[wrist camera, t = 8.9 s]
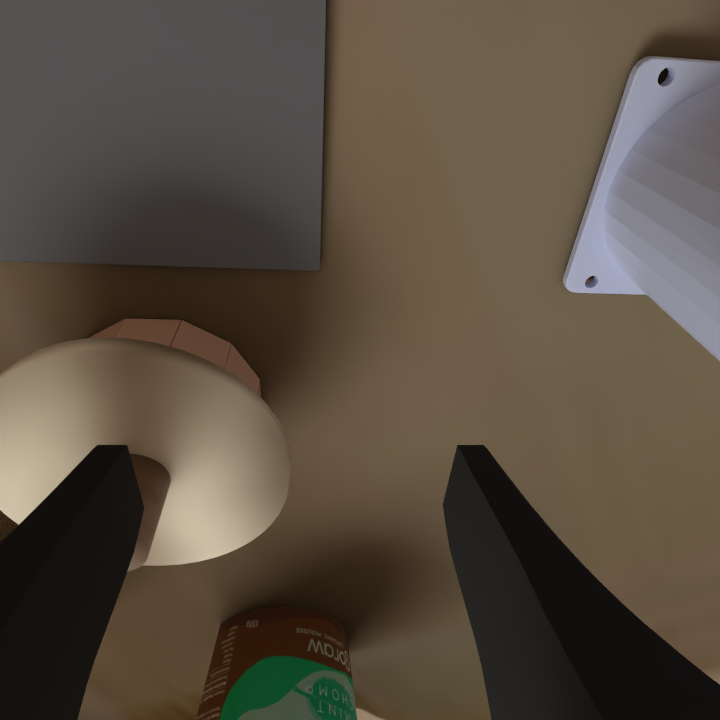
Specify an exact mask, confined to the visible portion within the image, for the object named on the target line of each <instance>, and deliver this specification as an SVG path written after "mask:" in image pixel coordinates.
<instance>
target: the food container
mask: <svg viewBox="0 0 720 720" xmlns="http://www.w3.org/2000/svg"><path fill="white" fill-rule="evenodd" d="M196 720H357V714H356V706H355V698H354V690H353V683H352V675H351V667H350V659H349V651H348V643H347V635H346V632H345V630H344V629H343V627H342V626H341V624H340V623H339V622H338V621H336V620H335V619H333V618H332V617H330V616H328V615H326V614H324V613H322V612H318V611H315V610H311V609H306V608H299V607H269V608H262V609H256V610H252V611H249V612H245V613H242V614H240V615H237V616H235V617H233V618H231V619H229V620H227V621H226V622H224V623H223V624H221V625H220V628H219V632H218V636H217V640H216V644H215V648H214V652H213V656H212V659H211V663H210V667H209V671H208V675H207V679H206V683H205V687H204V691H203V694H202V698H201V702H200V706H199V710H198V714H197V718H196Z"/></svg>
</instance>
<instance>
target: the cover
mask: <svg viewBox="0 0 720 720" xmlns="http://www.w3.org/2000/svg"><path fill="white" fill-rule="evenodd" d="M97 445H127V446H128V450H129V453H130V457H131V460H132V464H133V468H134V471H135V475H136V478H137V482H138V486H139V489H140V493H141V496H142V500H143V504H144V511H143V516H142V520H141V525H140V530H139V534H138V538H137V542H136V546H135V550H134V554H133V557H132V559H131V562H130V565H129V568H128V571H131V570H134V569H137V568H139V567H140V566H142V565H158V566H163V565H178V564H186V563H193V562H199V561H203V560H207V559H212V558H215V557H218V556H221V555H224V554H227V553H229V552H231V551H234V550H236V549H238V548H240V547H242V546H244V545H246V544H247V543H249V542H251V541H252V540H254V539H255V538H256V537H258V536H259V535H260V534H262V533H263V532H264V531H265V530H266V529H267V528H268V527H269V526H270V525H271V524H272V523H273V522H274V520H275V519H276V517H277V516H278V515H279V513H280V512H281V510H282V507H283V505H284V503H285V501H286V498H287V494H288V490H289V479H290V463H291V458H290V450H289V445H288V441H287V438H286V435H285V432H284V430H283V428H282V426H281V424H280V422H279V420H278V419H277V417H276V416H275V414H274V413H273V412H272V410H271V409H270V407H269V406H268V405H267V404H266V403H265V401H264V400H263V399H262V398H261V397H260V396H259V395H258V394H257V393H256V392H255V391H254V390H253V389H251V388H250V387H249V386H248V385H246V384H245V383H244V382H243V381H242V380H240V379H239V378H237V377H236V376H234V375H233V374H231V373H230V372H228V371H226V370H225V369H223V368H222V367H220V366H218V365H216V364H214V363H212V362H210V361H208V360H206V359H204V358H202V357H199V356H197V355H194V354H191V353H189V352H186V351H183V350H181V349H177V348H174V347H170V346H166V345H162V344H159V343H154V342H148V341H142V340H136V339H125V338H85V339H78V340H72V341H66V342H61V343H57V344H54V345H50V346H47V347H43V348H41V349H38V350H36V351H34V352H32V353H29V354H27V355H25V356H23V357H21V358H20V359H18V360H17V361H15V362H14V363H12V364H10V365H9V366H7V367H6V368H5V369H4V370H3V371H2V372H1V373H0V510H1V511H2V512H3V513H4V514H5V515H6V516H8V517H9V518H10V519H12V520H13V521H14V522H16V523H17V524H20V523H21V522H22V521H23V520H24V519H25V518H26V517H27V516H28V515H29V514H30V513H31V512H32V511H33V510H34V509H35V508H36V507H37V506H38V505H39V504H40V503H41V502H42V501H43V500H44V499H45V498H46V497H47V496H48V495H49V494H50V493H51V492H52V491H53V490H54V489H55V488H56V487H57V486H58V485H59V484H60V483H61V482H62V481H63V480H64V479H65V478H66V476H67V475H68V474H69V473H70V472H71V471H72V470H73V469H74V468H75V467H76V466H77V465H78V464H79V463H80V462H81V461H82V460H83V459H84V458H85V457H86V456H87V455H88V454H89V453H90V451H91V450H92V449H93V448H95V447H96V446H97Z"/></svg>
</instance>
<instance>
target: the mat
mask: <svg viewBox="0 0 720 720" xmlns="http://www.w3.org/2000/svg"><path fill="white" fill-rule="evenodd" d="M325 24H326V0H0V261H22V262H53V263H85V264H116V265H147V266H178V267H209V268H240V269H272V270H303V271H320V247H321V202H322V158H323V113H324V68H325Z"/></svg>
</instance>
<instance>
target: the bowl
mask: <svg viewBox="0 0 720 720" xmlns="http://www.w3.org/2000/svg"><path fill="white" fill-rule="evenodd" d="M89 338H125V339H136V340H142V341H148V342H154V343H159V344H162V345H166V346H170V347H174V348H177V349H181V350H183V351H186V352H189V353H191V354H194V355H197V356H199V357H202V358H204V359H206V360H208V361H210V362H212V363H214V364H216V365H218V366H220V367H222V368H223V369H225V370H226V371H228V372H230V373H231V374H233V375H234V376H236V377H237V378H239V379H240V380H242V381H243V382H244V383H245V384H246V385H248V386H249V387H250V388H251V389H253V390H254V391H255V392H256V393H257V394H258V395H259V396H260V397H261V390H260V380H259V377H258V376H257V375H256V374H255V372H254V371H253V370H252V369H251V367H250V366H249V365H248V364H247V362H246V361H245V360H244V359H243V357H242V356H241V355H240V353H239V352H238V351H237V350H236V348H235V347H234V346H233V345H232V344H231V343H230V342H228V341H226V340H223V339H221V338H219V337H217V336H215V335H213V334H211V333H209V332H206V331H204V330H202V329H200V328H198V327H196V326H194V325H192V324H189V323H187V322H185V321H183V320H182V321H181V320H168V319H124V320H122V321H120V322H118V323H116V324H114V325H112V326H110V327H108V328H106V329H104V330H102V331H100V332H98V333H96V334H94V335H92V336H91V337H89Z"/></svg>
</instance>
